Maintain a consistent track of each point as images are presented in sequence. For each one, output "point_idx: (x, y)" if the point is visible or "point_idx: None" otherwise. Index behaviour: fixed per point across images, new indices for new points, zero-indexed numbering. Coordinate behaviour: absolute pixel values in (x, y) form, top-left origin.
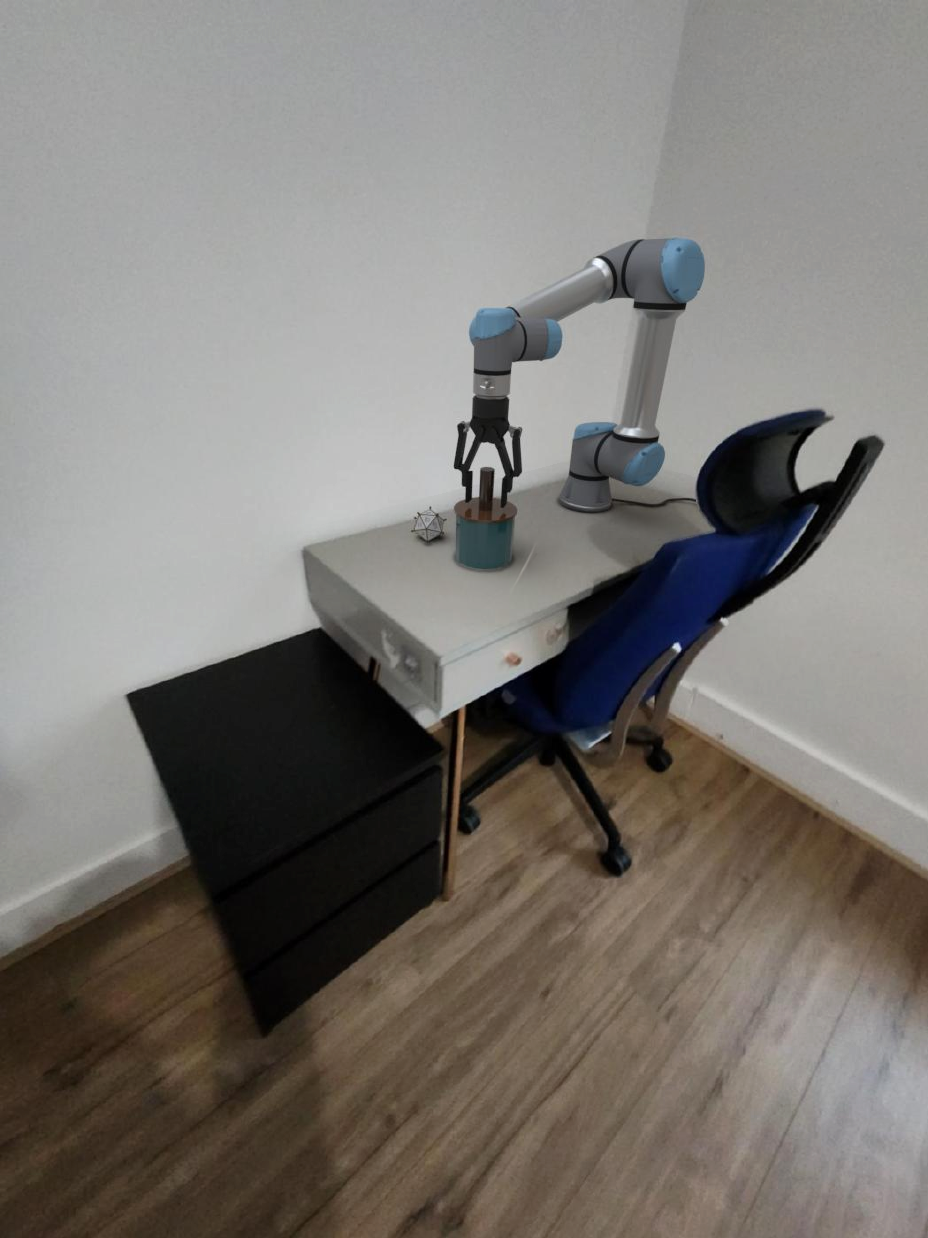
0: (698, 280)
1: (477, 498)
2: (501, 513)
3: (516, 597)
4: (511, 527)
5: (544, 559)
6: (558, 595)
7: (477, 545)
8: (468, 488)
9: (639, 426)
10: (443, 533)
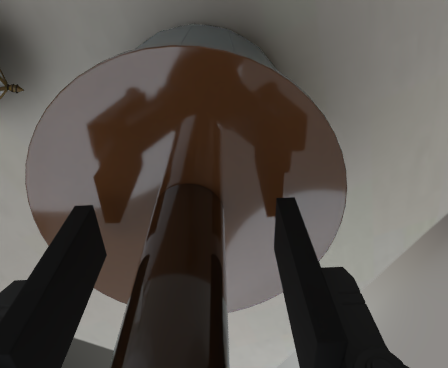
0: None
1: (85, 103)
2: None
3: (328, 258)
4: None
5: (391, 48)
6: (420, 223)
7: None
8: (79, 316)
9: None
10: (19, 91)
